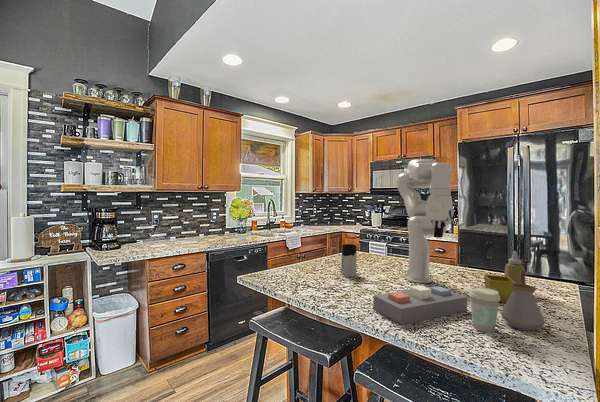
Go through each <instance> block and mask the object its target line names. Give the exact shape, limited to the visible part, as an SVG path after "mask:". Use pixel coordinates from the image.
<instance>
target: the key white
mask: <svg viewBox="0 0 600 402" xmlns="http://www.w3.org/2000/svg"><path fill="white" fill-rule="evenodd" d="M409 290H410V296H413V297H415V298H418V299H420V300H422V299H428V298H431V289H429V288H427V286H423V285H421V284H418V285H413V286H410V287H409Z"/></svg>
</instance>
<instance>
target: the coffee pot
mask: <svg viewBox="0 0 600 402" xmlns="http://www.w3.org/2000/svg"><path fill="white" fill-rule="evenodd" d="M524 271H525V270H524ZM524 271H521V273H522V274H520V272H519V274H520V275H521V284H518V283H514V284H511V286H512V288H513V292H512V294H511V295H510V297H509V299H508V301H507V302H506V303H505V304H504V306H503V307H502V309H501V310H500V315H501V318H502V319H503V320H504V322H506V324H507V325H509V326H510V327H512V328H515V329H517V330H521V331H529V332H534V331H537V330H538V329H540V328H542V327H543V326H544V325H545V323H546V320H545V319H544V316H543V313H542V312H541V309H540V307H539V305H538V303H537V301H536V299H535V296H534V294H535V292H536V291H537V287H535V286H533V285H529V284H526V285H525V284H524V283H525V282H526V276H527V275H528V273H527V272H526V271H525V274H524ZM524 276H525V277H524Z"/></svg>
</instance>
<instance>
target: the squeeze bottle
mask: <svg viewBox="0 0 600 402" xmlns="http://www.w3.org/2000/svg"><path fill="white" fill-rule="evenodd" d="M521 271H524V274H525V275H526V273H525V272H526V270H525V266H524V265H522V259H519V254H518V251H516V250H513V252H512V256H511V258H508V263H506V264H505V268H504V274H503V276H505V277H509V278H510V279H512V280H513V281H514V282H515V283H518V284H521V275H520V274H522V273H521ZM519 272H520V274H519ZM524 277H525V278H526V276H524ZM524 284H525V285H527V284H526V281H525V283H524Z"/></svg>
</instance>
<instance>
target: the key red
mask: <svg viewBox="0 0 600 402" xmlns="http://www.w3.org/2000/svg"><path fill="white" fill-rule="evenodd" d="M394 292H395V293H392V292H388V299H390V300H392V301H394V302H396V303H404V302H410V296H408V295H406V294H403V293H401V292H399V291H394Z"/></svg>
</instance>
